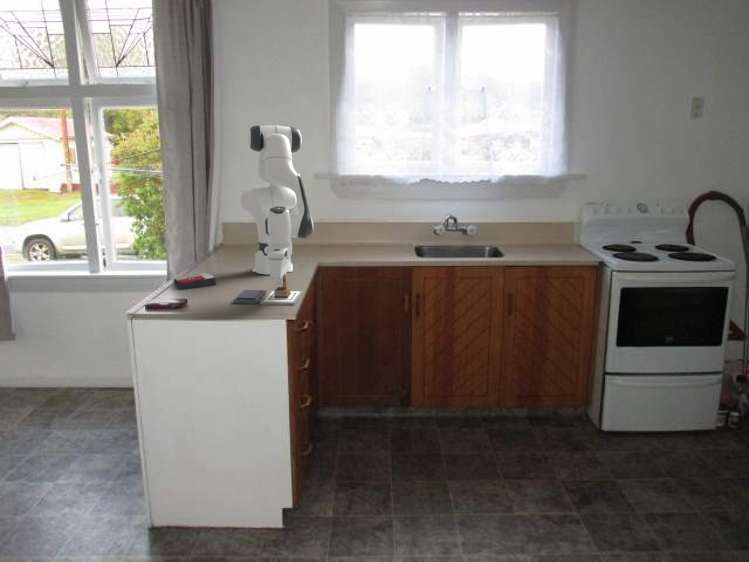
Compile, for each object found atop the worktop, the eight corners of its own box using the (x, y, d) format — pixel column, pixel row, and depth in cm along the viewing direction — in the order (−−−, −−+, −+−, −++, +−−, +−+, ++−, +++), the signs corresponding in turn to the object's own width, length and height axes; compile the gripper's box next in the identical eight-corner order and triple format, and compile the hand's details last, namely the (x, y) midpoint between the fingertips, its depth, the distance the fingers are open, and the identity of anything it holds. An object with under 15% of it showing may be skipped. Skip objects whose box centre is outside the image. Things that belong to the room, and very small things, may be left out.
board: (271, 292, 248) (271, 290, 248) (303, 292, 247) (303, 290, 247) (260, 304, 231) (260, 301, 230) (294, 304, 230) (294, 302, 230)
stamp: (278, 294, 242) (277, 271, 240) (290, 294, 242) (289, 271, 239) (274, 298, 236) (273, 274, 234) (287, 298, 236) (286, 274, 234)
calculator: (173, 277, 262) (207, 271, 269) (174, 287, 263) (209, 280, 270) (179, 282, 252) (215, 276, 260) (181, 292, 254) (216, 285, 261)
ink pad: (243, 294, 246) (243, 289, 245) (266, 294, 245) (265, 289, 245) (233, 303, 232) (233, 298, 232) (257, 303, 232) (256, 298, 231)
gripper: (278, 245, 245) (279, 278, 248) (265, 255, 225) (267, 291, 228) (294, 245, 244) (295, 279, 248) (282, 255, 225) (284, 291, 228)
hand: (282, 285), depth 238 cm, fingers closed on stamp, 3 cm apart
